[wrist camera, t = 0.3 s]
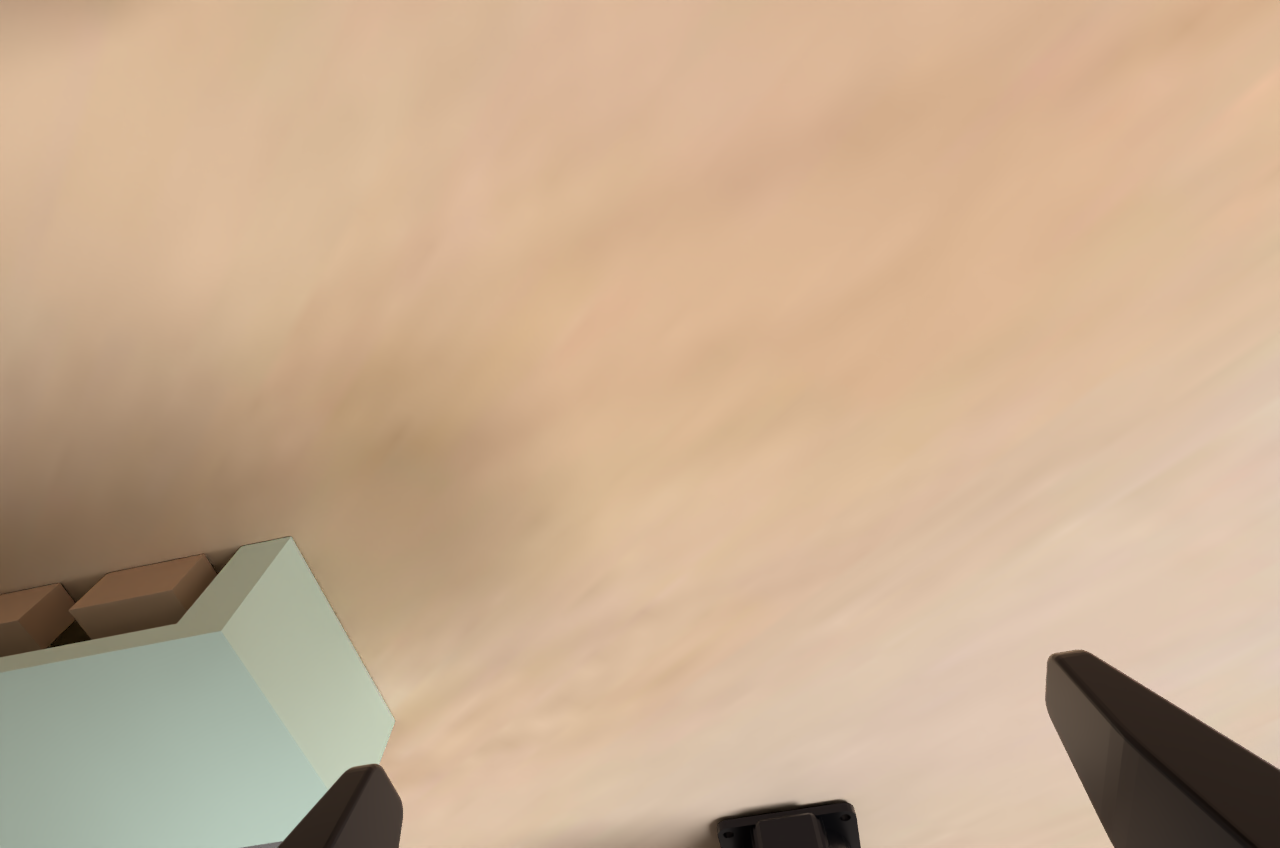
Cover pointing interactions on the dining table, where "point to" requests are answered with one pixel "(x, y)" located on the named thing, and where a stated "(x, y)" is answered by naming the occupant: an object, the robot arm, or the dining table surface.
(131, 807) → the pale mint green box
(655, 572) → the dining table surface
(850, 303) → the dining table surface
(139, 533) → the dining table surface
